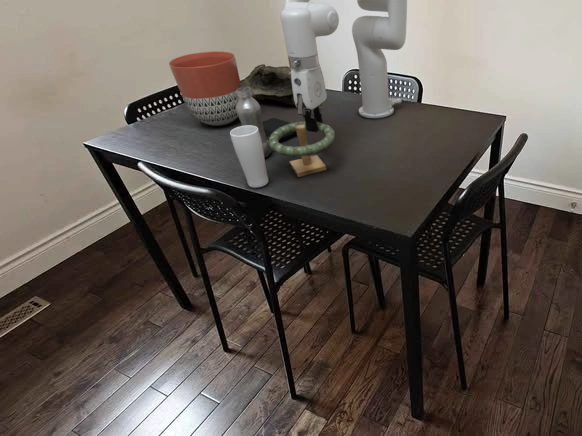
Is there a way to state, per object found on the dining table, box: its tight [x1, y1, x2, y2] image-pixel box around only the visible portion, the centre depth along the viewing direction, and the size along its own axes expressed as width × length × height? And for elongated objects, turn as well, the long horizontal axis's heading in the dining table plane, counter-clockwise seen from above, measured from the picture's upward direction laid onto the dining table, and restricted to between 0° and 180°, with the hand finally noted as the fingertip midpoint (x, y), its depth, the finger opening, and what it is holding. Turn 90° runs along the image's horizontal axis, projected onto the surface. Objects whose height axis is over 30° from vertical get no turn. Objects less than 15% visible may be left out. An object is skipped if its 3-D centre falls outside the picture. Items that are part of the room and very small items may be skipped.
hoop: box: [268, 120, 336, 157], centre depth 112 cm, size 17×17×2 cm
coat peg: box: [289, 125, 327, 178], centre depth 113 cm, size 8×8×12 cm
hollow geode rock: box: [242, 63, 296, 107], centre depth 159 cm, size 28×13×15 cm
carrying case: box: [262, 117, 297, 142], centre depth 135 cm, size 11×3×15 cm
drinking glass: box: [229, 125, 270, 189], centre depth 106 cm, size 7×7×15 cm
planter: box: [168, 50, 242, 127], centre depth 139 cm, size 20×20×21 cm
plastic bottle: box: [236, 86, 272, 158], centre depth 117 cm, size 6×7×20 cm
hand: (315, 128), depth 118 cm, fingers closed on hoop, 2 cm apart
